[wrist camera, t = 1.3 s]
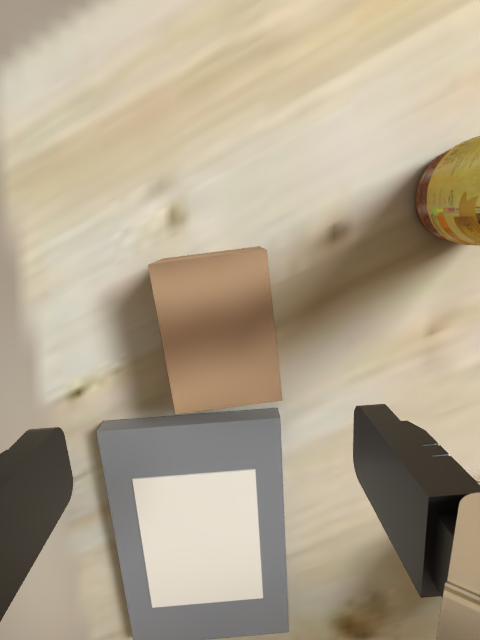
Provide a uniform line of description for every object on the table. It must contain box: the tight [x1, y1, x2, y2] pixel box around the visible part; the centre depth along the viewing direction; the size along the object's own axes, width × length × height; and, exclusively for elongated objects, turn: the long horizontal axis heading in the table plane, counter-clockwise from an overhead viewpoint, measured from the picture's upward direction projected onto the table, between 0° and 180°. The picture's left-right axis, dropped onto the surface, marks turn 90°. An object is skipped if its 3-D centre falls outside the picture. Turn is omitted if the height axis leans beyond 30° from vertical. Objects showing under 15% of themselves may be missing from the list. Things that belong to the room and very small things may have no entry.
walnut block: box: [148, 246, 282, 414], centre depth 23 cm, size 9×6×5 cm
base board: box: [97, 408, 289, 640], centre depth 29 cm, size 20×13×2 cm, turn 4°
